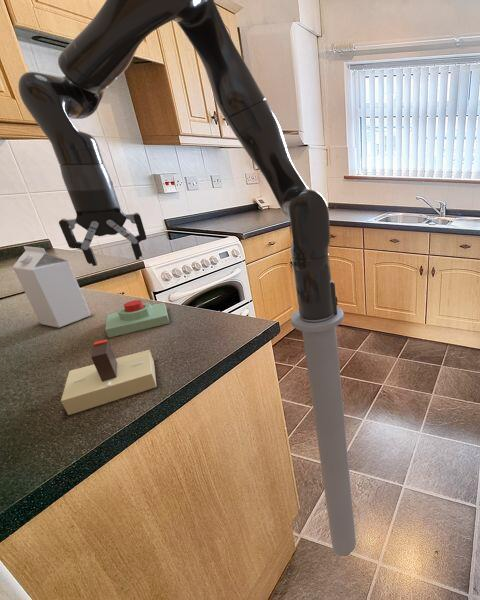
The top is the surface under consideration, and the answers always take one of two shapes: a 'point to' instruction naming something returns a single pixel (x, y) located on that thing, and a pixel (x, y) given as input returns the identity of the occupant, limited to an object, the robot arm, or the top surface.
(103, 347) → the brown rectangular block
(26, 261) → the milk carton
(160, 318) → the button block
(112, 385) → the panel
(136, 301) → the button
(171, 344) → the top surface
